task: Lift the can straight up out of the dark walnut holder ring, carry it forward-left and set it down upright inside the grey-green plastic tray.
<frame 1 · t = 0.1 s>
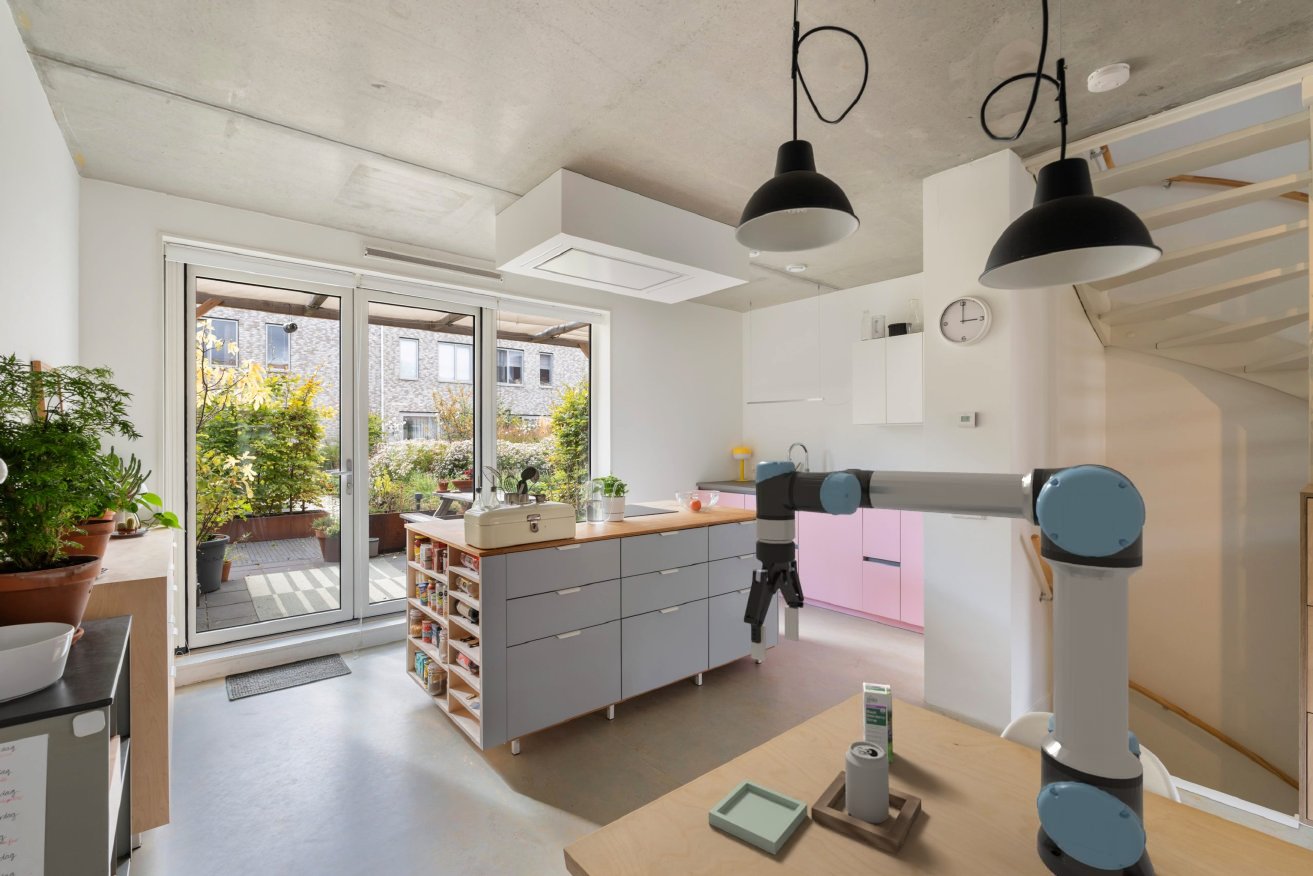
hand: (775, 649, 113), 28 cm above the table, fingers open, 13 cm apart
holder: (867, 814, 107), on the table
syrup box: (877, 755, 127), on the table
tray: (758, 819, 105), on the table
can: (867, 815, 107), resting in holder
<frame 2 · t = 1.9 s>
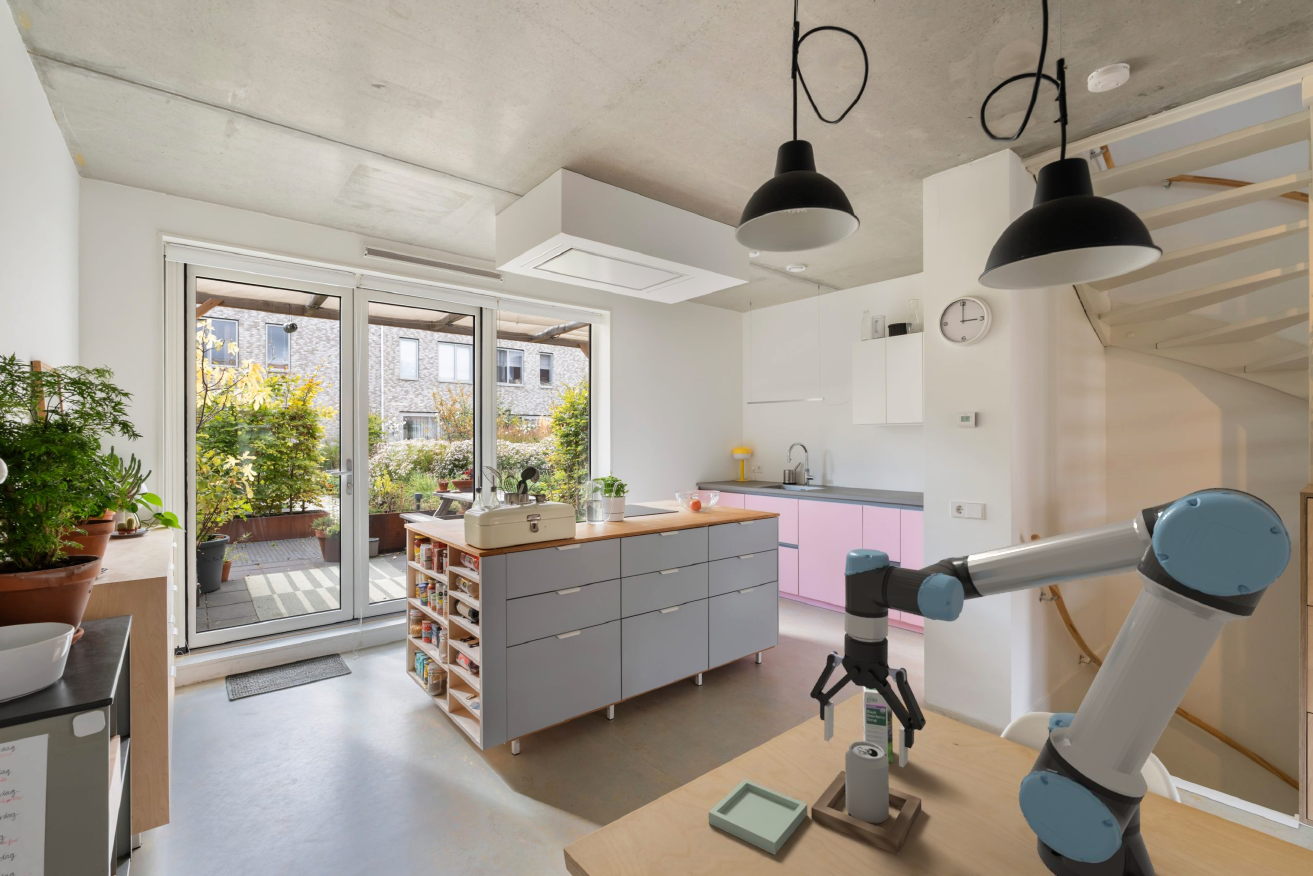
hand: (864, 750, 107), 11 cm above the table, fingers open, 13 cm apart
nothing on the table moved.
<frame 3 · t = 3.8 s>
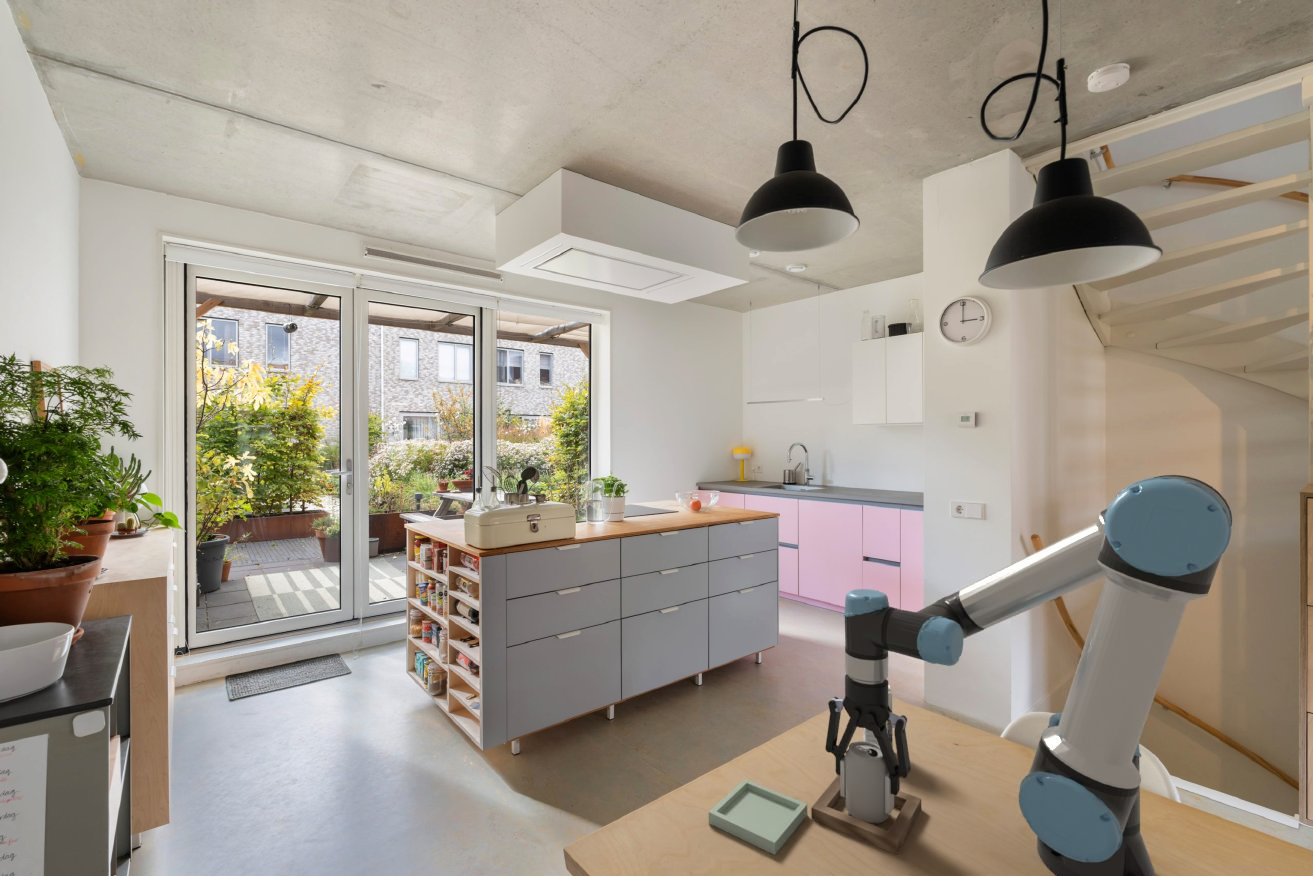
hand: (866, 801, 107), 2 cm above the table, fingers closed on can, 7 cm apart
can: (866, 815, 107), resting in holder, touching gripper
everything else where it was.
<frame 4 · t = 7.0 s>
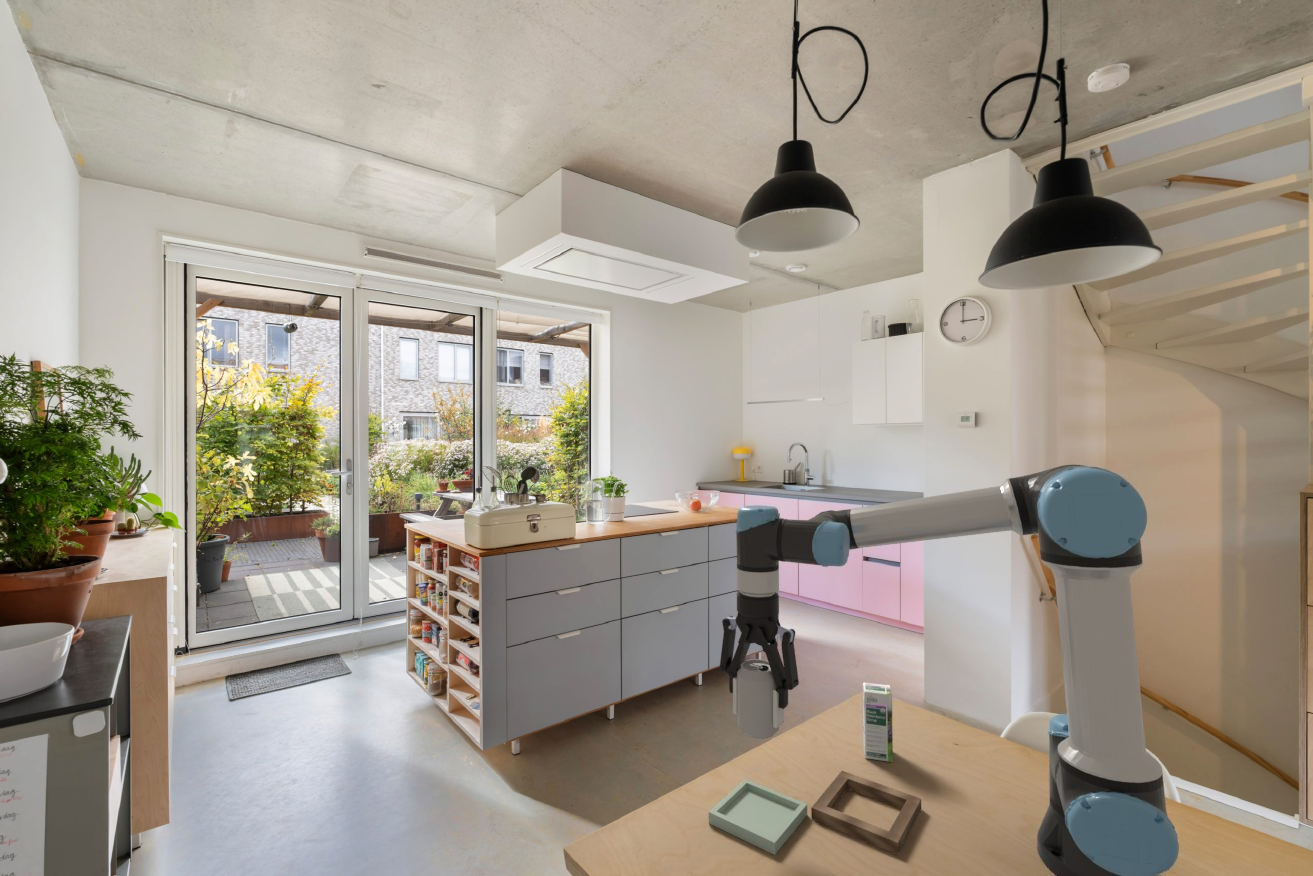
hand: (758, 717, 105), 18 cm above the table, fingers closed on can, 7 cm apart
can: (758, 731, 105), point 16 cm above the table, touching gripper
everything else where it was.
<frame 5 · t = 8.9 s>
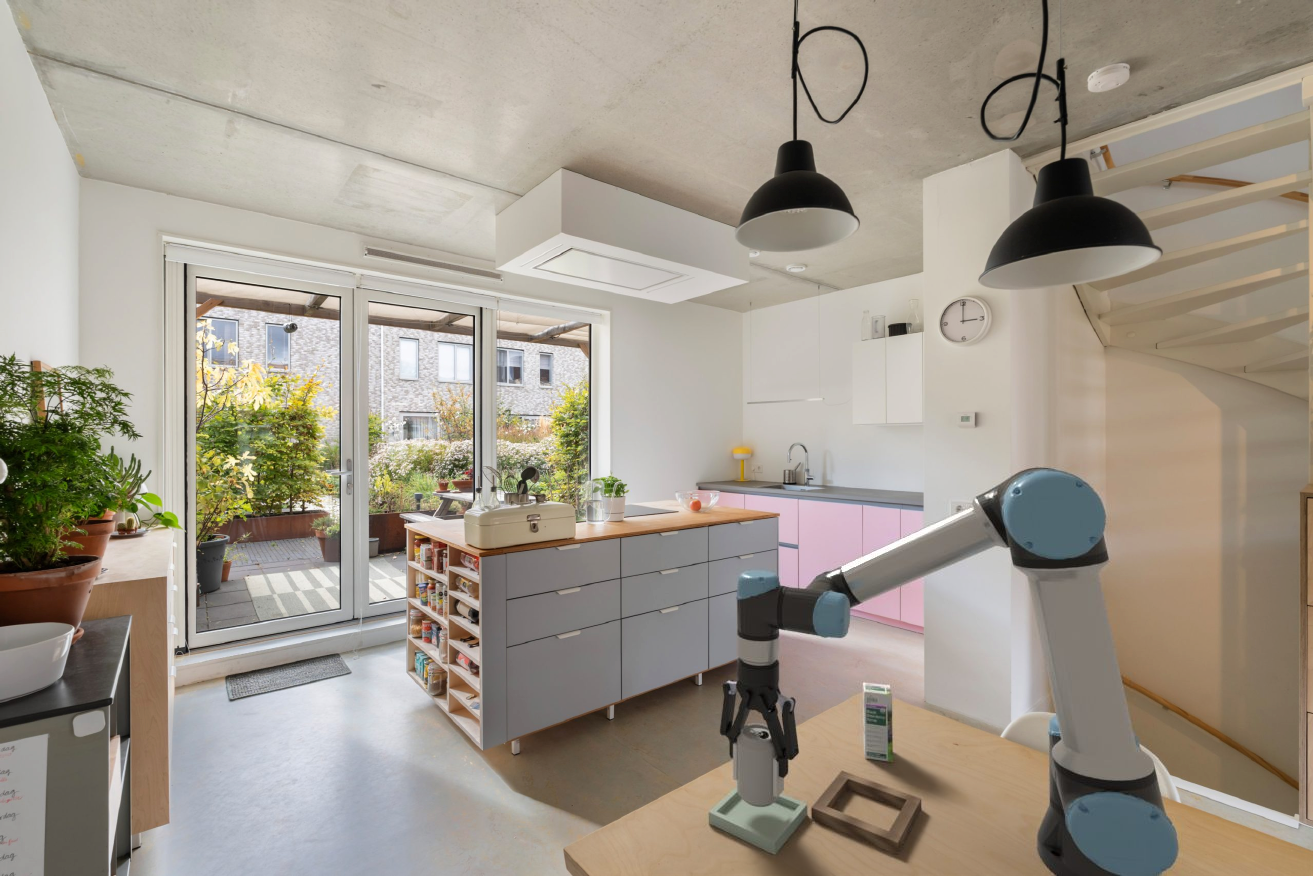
hand: (758, 784, 105), 6 cm above the table, fingers closed on can, 7 cm apart
can: (758, 798, 105), point 4 cm above the table, touching gripper
everything else where it was.
when the fingers open (5 cm above the table, at t = 10.2 s): can drops 1 cm, resting on tray.
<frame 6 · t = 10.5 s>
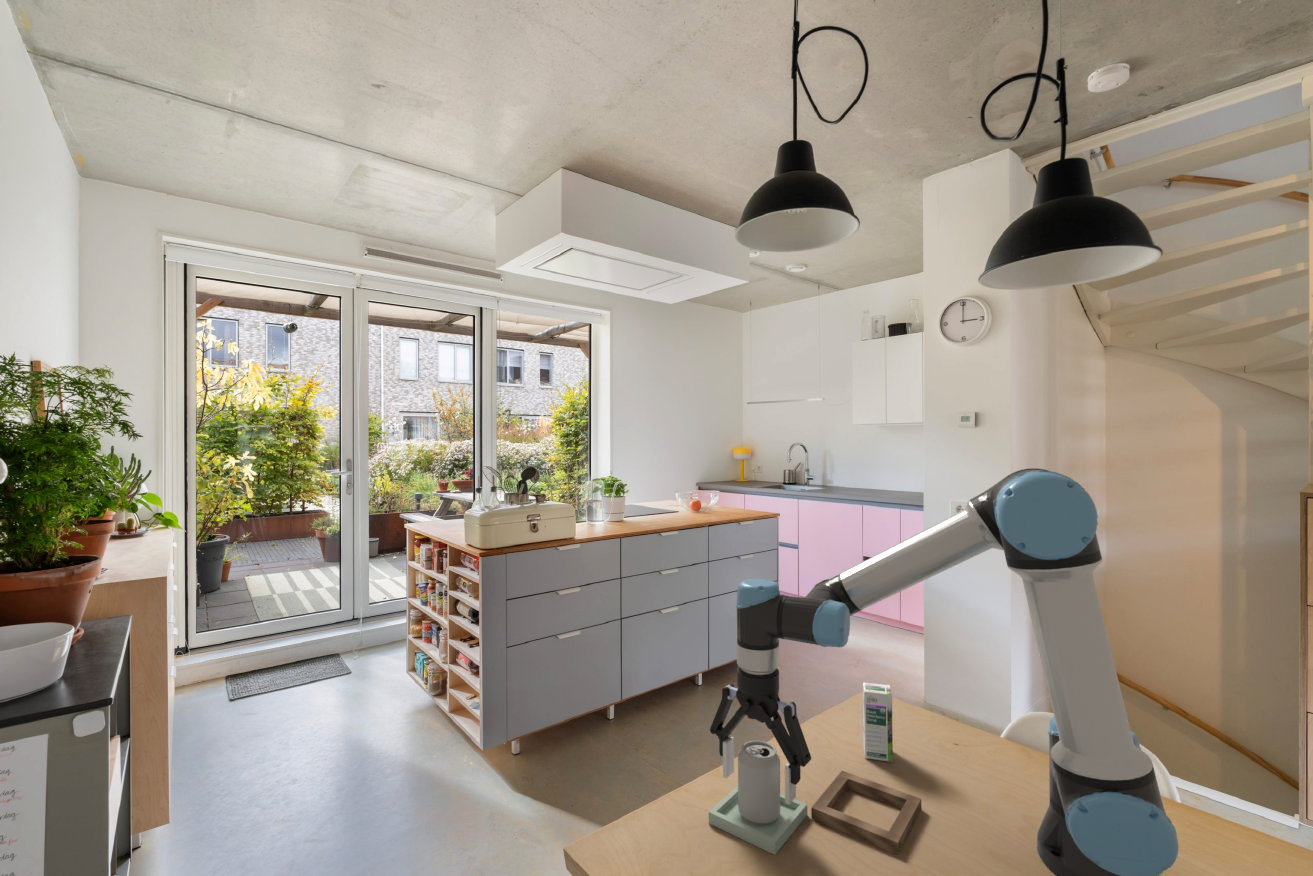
hand: (758, 787, 105), 6 cm above the table, fingers open, 12 cm apart
can: (759, 815, 105), point 1 cm above the table, touching tray
everything else where it was.
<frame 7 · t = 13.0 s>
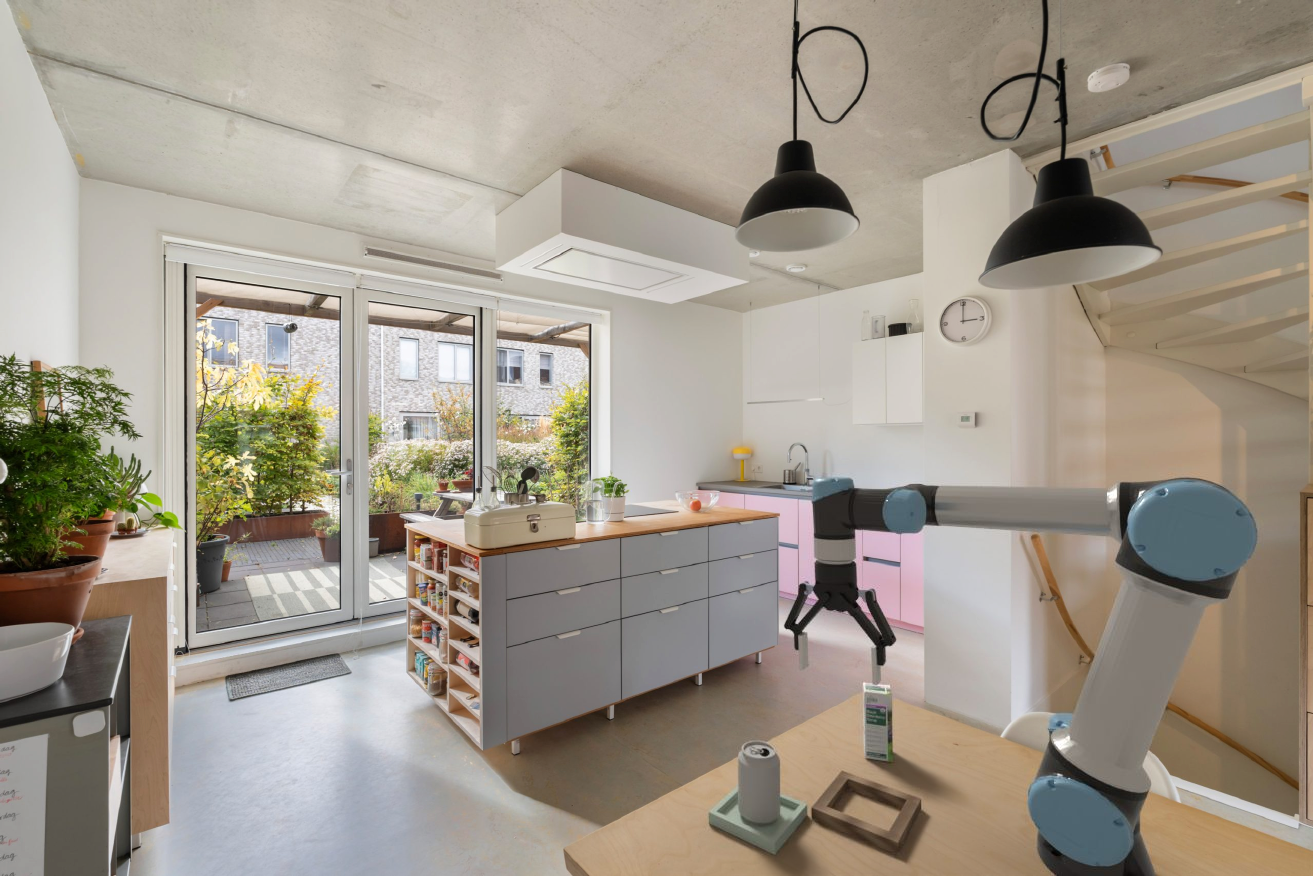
hand: (839, 675, 108), 25 cm above the table, fingers open, 13 cm apart
nothing on the table moved.
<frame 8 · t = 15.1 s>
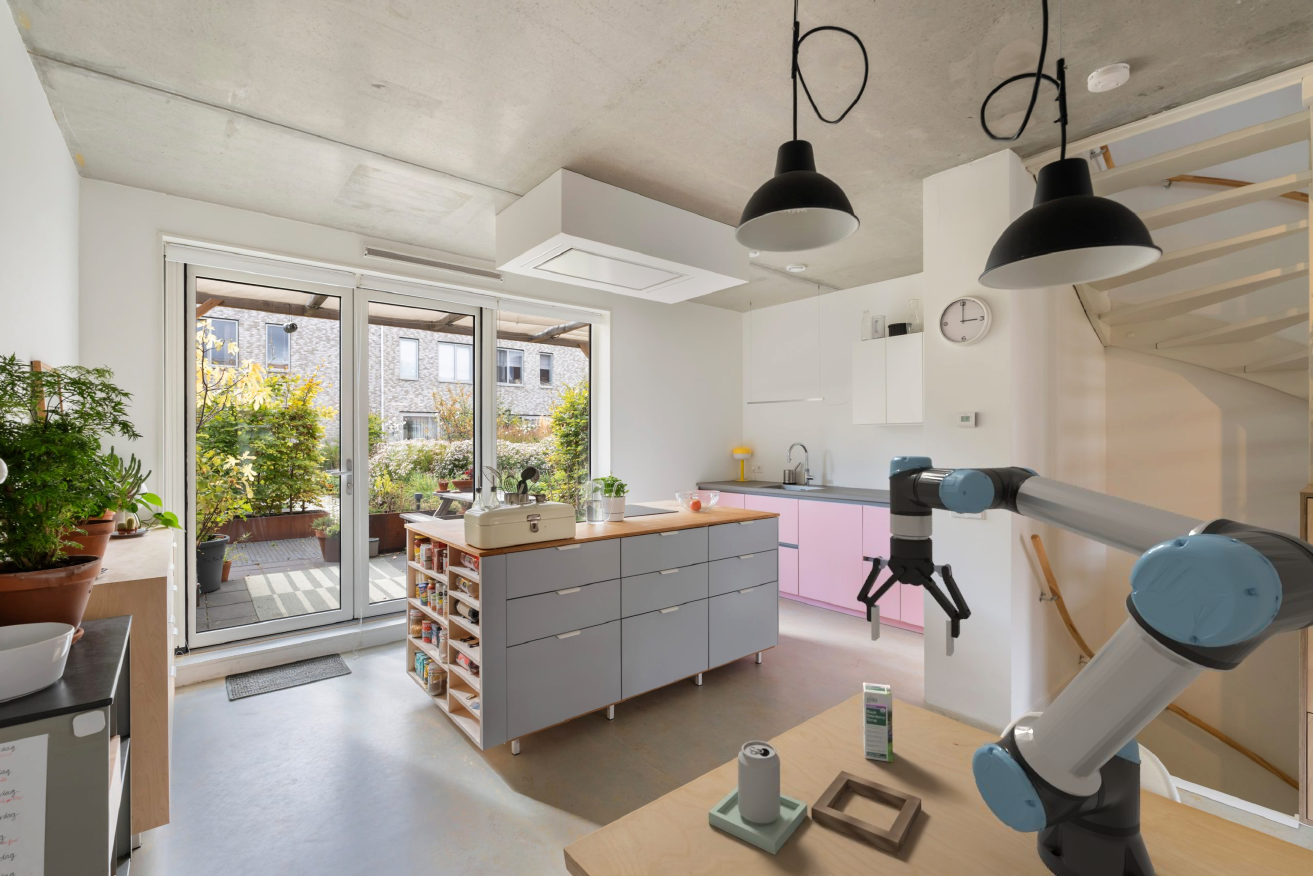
hand: (911, 646, 112), 29 cm above the table, fingers open, 13 cm apart
nothing on the table moved.
at the end: can inside the target area on the tray (0.1 cm from its centre), point 0.6 cm above the tray's base; can tilted 0°; the gripper is holding nothing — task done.
